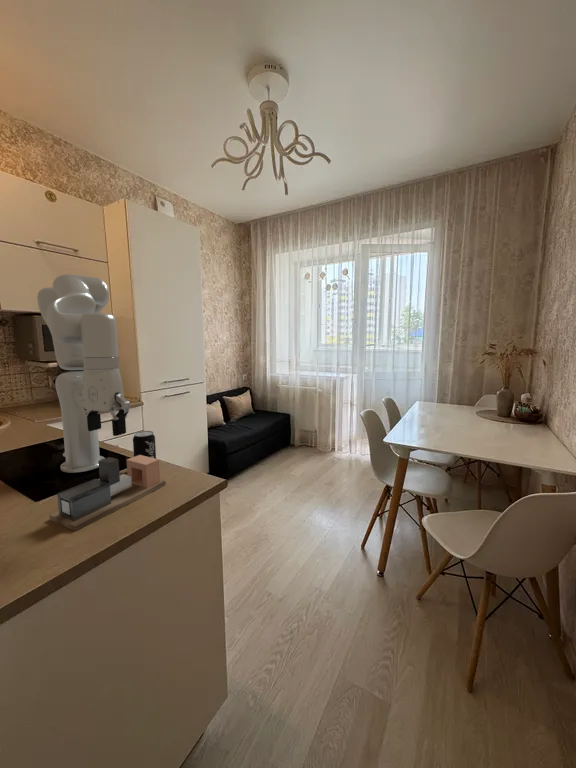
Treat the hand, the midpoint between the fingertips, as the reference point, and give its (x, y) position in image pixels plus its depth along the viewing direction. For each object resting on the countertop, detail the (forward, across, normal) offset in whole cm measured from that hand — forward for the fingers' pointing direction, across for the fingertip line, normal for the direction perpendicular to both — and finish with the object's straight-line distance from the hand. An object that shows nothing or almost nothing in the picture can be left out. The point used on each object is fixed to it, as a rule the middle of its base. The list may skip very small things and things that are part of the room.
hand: (106, 432), depth 81 cm
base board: (+19, -1, +1) cm, 19 cm away
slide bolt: (+17, -1, -3) cm, 17 cm away
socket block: (+18, -1, +10) cm, 21 cm away
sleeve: (+18, -1, -6) cm, 19 cm away
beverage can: (+19, -11, +19) cm, 29 cm away
